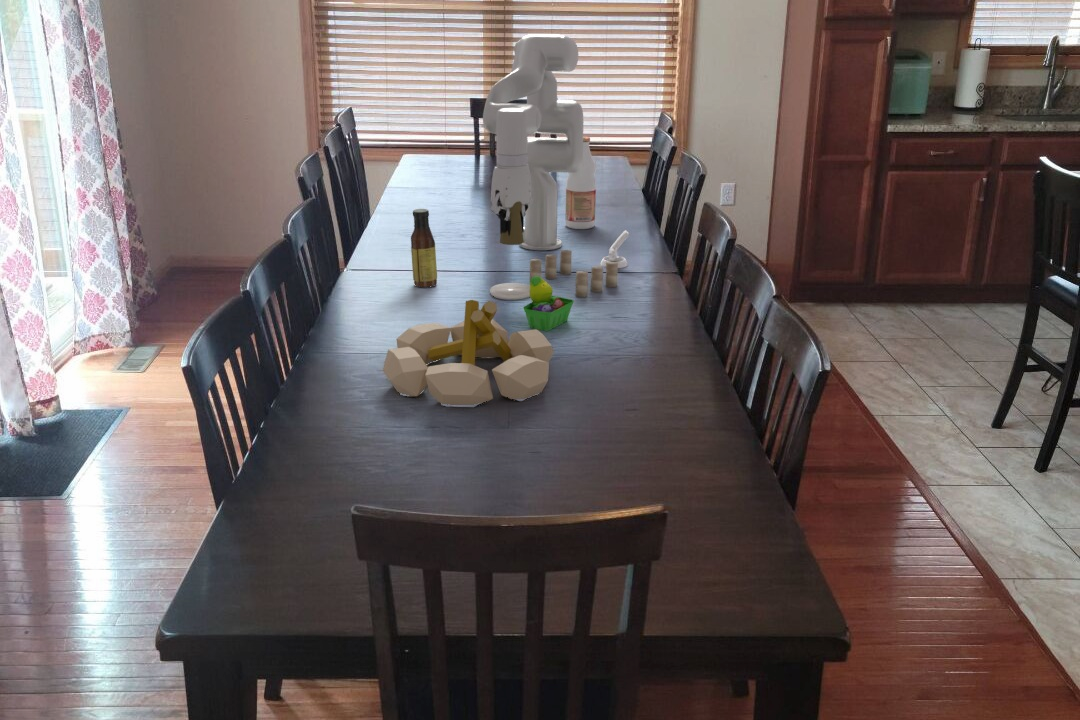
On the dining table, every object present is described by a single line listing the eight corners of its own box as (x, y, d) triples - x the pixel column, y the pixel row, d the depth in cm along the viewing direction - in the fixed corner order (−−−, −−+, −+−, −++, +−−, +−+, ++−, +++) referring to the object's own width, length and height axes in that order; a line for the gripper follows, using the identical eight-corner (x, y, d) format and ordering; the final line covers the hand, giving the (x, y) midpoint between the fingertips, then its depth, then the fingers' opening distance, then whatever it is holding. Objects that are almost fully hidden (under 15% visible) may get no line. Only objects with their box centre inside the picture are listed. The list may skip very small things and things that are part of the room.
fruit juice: (559, 225, 333) (560, 137, 323) (579, 221, 339) (581, 133, 329) (580, 231, 327) (582, 141, 317) (600, 226, 333) (603, 137, 323)
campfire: (550, 415, 199) (551, 331, 192) (372, 411, 200) (368, 326, 194) (555, 349, 231) (556, 275, 225) (402, 346, 232) (399, 272, 226)
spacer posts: (527, 282, 277) (527, 260, 274) (565, 270, 287) (565, 249, 285) (582, 298, 265) (582, 275, 262) (619, 285, 275) (620, 263, 273)
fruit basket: (549, 334, 240) (550, 287, 236) (517, 327, 244) (517, 280, 240) (574, 320, 249) (575, 274, 245) (543, 313, 253) (543, 268, 249)
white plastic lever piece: (646, 250, 288) (627, 238, 285) (619, 282, 292) (600, 270, 290) (642, 238, 294) (623, 225, 291) (615, 269, 299) (596, 257, 296)
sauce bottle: (441, 283, 275) (439, 209, 268) (429, 290, 270) (427, 214, 262) (420, 280, 277) (417, 206, 270) (407, 286, 272) (405, 211, 265)
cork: (527, 239, 265) (527, 197, 261) (518, 245, 259) (519, 202, 255) (504, 237, 266) (504, 194, 262) (496, 243, 261) (495, 200, 257)
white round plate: (481, 293, 268) (481, 288, 267) (511, 284, 275) (511, 279, 275) (512, 302, 261) (512, 298, 260) (542, 293, 268) (542, 288, 268)
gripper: (524, 153, 264) (524, 225, 270) (476, 162, 252) (477, 236, 259) (546, 157, 259) (545, 230, 266) (498, 167, 247) (499, 242, 254)
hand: (511, 232), depth 262 cm, fingers closed on cork, 3 cm apart
